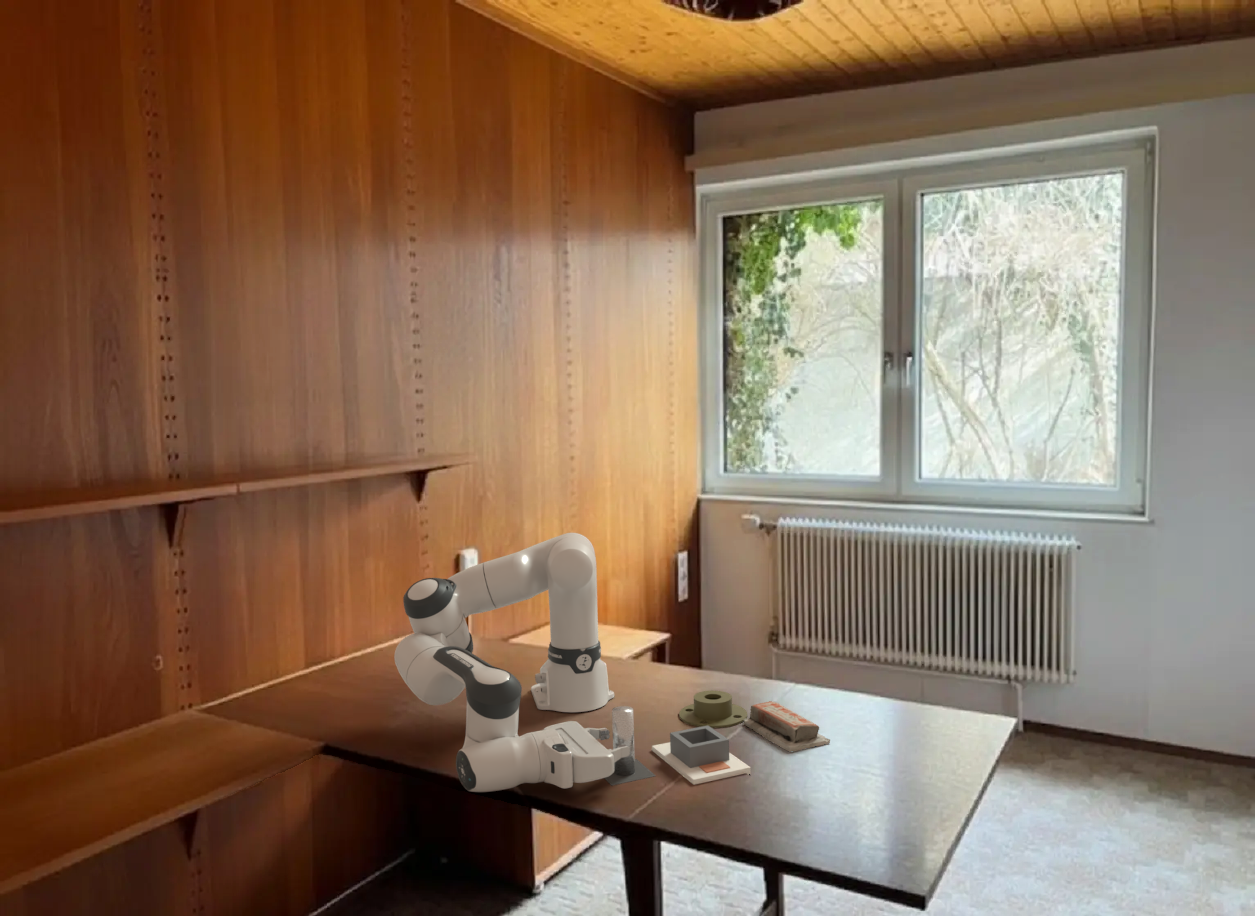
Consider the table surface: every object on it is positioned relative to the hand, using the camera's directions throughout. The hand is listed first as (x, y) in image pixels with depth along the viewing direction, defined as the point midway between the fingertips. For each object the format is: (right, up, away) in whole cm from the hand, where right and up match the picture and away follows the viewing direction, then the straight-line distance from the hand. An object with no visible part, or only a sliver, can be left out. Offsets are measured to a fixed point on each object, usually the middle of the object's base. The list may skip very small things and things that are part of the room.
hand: (617, 741), depth 177 cm
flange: (+21, -4, +31) cm, 38 cm away
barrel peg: (+1, -6, +1) cm, 6 cm away
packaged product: (+35, -5, +20) cm, 40 cm away
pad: (+1, -7, +1) cm, 7 cm away
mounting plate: (+16, -6, +5) cm, 18 cm away
